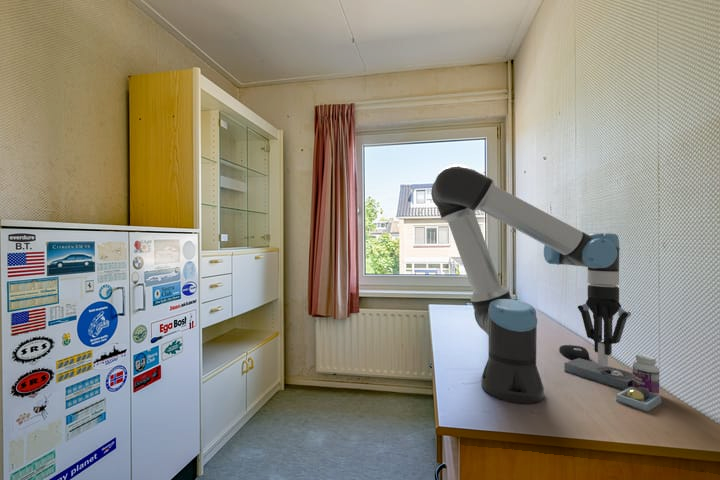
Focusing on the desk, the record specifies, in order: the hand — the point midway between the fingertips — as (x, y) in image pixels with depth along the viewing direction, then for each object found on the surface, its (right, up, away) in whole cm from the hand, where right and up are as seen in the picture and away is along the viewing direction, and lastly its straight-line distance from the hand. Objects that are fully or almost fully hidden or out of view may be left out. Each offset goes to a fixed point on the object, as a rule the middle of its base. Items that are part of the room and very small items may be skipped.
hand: (602, 364), depth 95 cm
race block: (0, -4, 0) cm, 4 cm away
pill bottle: (+4, -4, -10) cm, 11 cm away
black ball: (-1, -2, -14) cm, 14 cm away
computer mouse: (+4, -5, +18) cm, 19 cm away
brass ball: (-4, -2, -16) cm, 16 cm away
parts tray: (-2, -4, -15) cm, 15 cm away
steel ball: (+2, -2, -3) cm, 4 cm away
